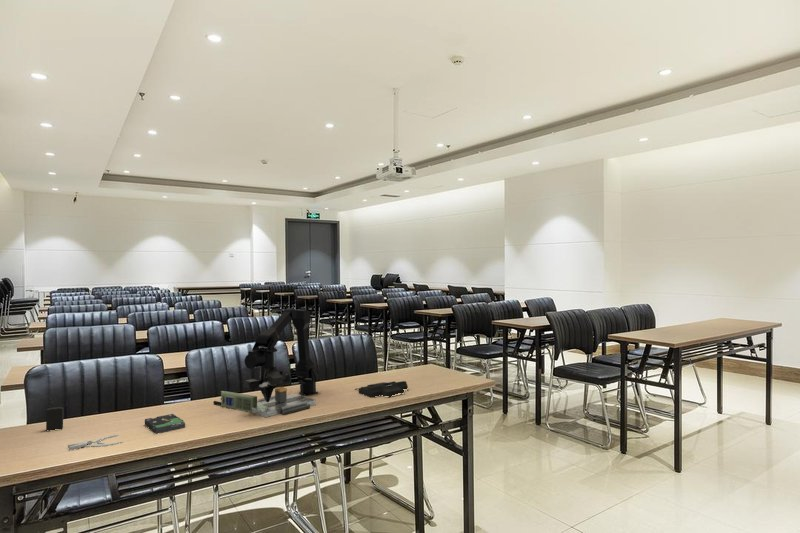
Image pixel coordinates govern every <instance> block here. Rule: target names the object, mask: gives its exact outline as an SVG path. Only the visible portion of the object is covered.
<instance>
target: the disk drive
mask: <svg viewBox="0 0 800 533" xmlns="http://www.w3.org/2000/svg"><path fill="white" fill-rule="evenodd" d="M144 426H146V427H147V428H148V427H149V428H150V429H149V428H148V429H149V430H150V431H152V433H156V434H155V435H158V433H159V434H164V433H168V432H172V431H177V430H181V429H185V428H186V423H185V421H184V420H183V419H181V417H179V416H177V415H176V414H174V413H170V414H165V415H159V416H156V417H154V418H152V417H150V418H149V417H148V418H145V419H144Z"/></svg>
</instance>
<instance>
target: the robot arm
mask: <svg viewBox="0 0 800 533" xmlns="http://www.w3.org/2000/svg"><path fill="white" fill-rule="evenodd" d="M311 316H312V315H311V312H310V311H309V310H308V309H294V308H286V309H283V310H282V313H281V314H280V316H278V318H277V319H276V320H275V321H274V322H273V323H272V324H271V326H270V327H268V329H265V330H262V332H260V333H259V334H258V335H257V337H256V340H255V342H254V344H253V347H252V349H251V350H249V351H248V354H247V355H246V356H245V357H244V361H243V362H244V365H245V367H246V368H247V369H249V370H250V369H251V370H253V369H256V368H257V369H258V370H259V376H258V378H257V379H258V380H257V379H255V378H251V379H246V380H244V381H243V385H242V387H243V389H247V390H255V389H258V388H259V390H260V393H261V395H262V396H263V398H265V400H266V402H269V401H270V398H271V396H273V395H272V394H273V392H274V391H275V388H277V387H279V385H281V384H282V383H288V382H291V375H289V374H287V372H286V371H285V370H280V371H277V367H276V366H275V353H276V352H278V349H277V348H276V347H275V346H276V345H277V343H278V342H279V341H280V340H279V339H280V334H281V333H282V332H283V331H284V330H285V329H286V327H287V326H288V325H289V324H290V323H292V326H293V327H294V329H295V330H296V339H297V340H296V341H297V351H298V361H297V363H296V364H295V365H294V368H295V374H296V378H297V381H299V382H300V384H299V388H300V389H299V392H298V395H302V396H305V397H307V396H311V395H316V394H318V393H319V392H318V391H317V390H316V388H317V382H318V381H319V378H320V374H319V373H318V372H317V370H316V368H315V363H314V362H313V361H312V359H311V357H310V356H311V355H310V344H309V332H308V331H309V330H308V327H309V326H310V323H311Z"/></svg>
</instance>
